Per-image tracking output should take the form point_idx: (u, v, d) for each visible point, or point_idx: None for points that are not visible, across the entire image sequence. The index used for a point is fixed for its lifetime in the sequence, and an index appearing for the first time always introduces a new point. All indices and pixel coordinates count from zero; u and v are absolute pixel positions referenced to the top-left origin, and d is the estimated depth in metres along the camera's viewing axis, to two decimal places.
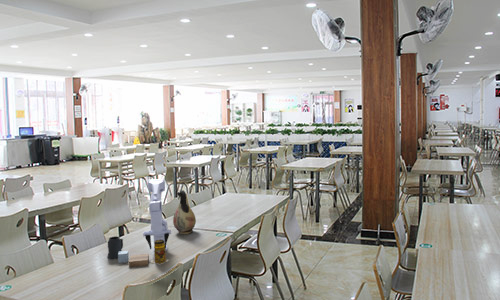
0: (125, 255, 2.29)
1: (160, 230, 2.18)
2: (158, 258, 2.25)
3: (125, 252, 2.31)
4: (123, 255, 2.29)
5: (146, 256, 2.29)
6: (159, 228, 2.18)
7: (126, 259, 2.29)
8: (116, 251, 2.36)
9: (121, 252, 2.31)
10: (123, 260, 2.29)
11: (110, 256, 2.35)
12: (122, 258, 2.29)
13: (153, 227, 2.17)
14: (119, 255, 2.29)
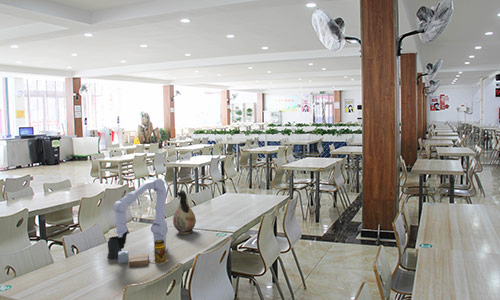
0: (125, 255, 2.29)
1: (117, 229, 2.28)
2: (158, 258, 2.25)
3: (125, 252, 2.31)
4: (123, 255, 2.29)
5: (146, 256, 2.29)
6: (116, 227, 2.28)
7: (126, 259, 2.29)
8: (116, 251, 2.36)
9: (121, 252, 2.31)
10: (123, 260, 2.29)
11: (110, 256, 2.35)
12: (122, 258, 2.29)
13: None
14: (119, 255, 2.29)
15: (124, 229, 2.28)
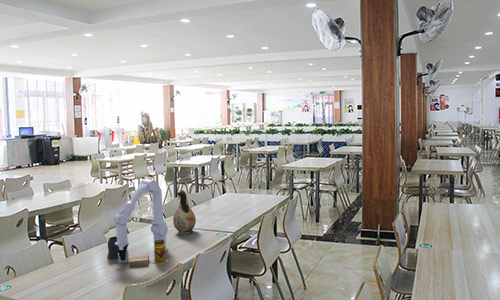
0: None
1: (118, 242, 2.28)
2: (158, 258, 2.25)
3: None
4: None
5: (146, 256, 2.29)
6: (117, 240, 2.29)
7: (126, 259, 2.29)
8: (116, 251, 2.36)
9: None
10: (123, 260, 2.29)
11: (110, 256, 2.35)
12: None
13: None
14: None
15: (125, 241, 2.29)
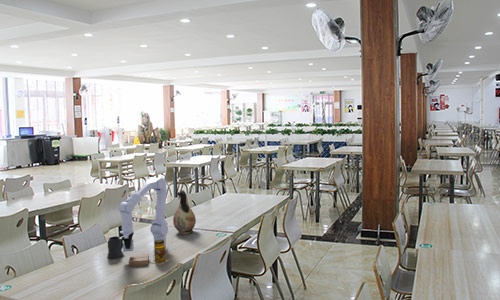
0: None
1: (123, 230, 2.26)
2: (158, 258, 2.25)
3: None
4: None
5: (146, 256, 2.29)
6: (122, 228, 2.26)
7: (131, 248, 2.27)
8: (116, 251, 2.36)
9: None
10: (128, 249, 2.27)
11: (110, 256, 2.35)
12: None
13: None
14: (124, 244, 2.26)
15: (130, 230, 2.27)
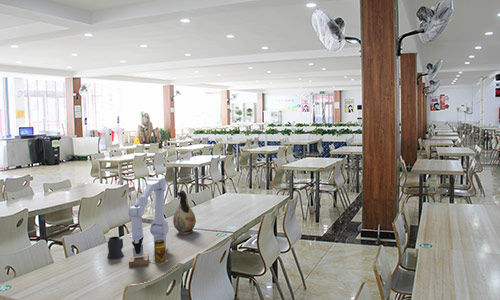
0: None
1: (133, 235, 2.24)
2: (158, 258, 2.25)
3: None
4: None
5: (146, 256, 2.29)
6: (132, 233, 2.24)
7: (141, 253, 2.25)
8: (116, 251, 2.36)
9: None
10: (138, 254, 2.24)
11: (110, 256, 2.35)
12: None
13: None
14: (134, 249, 2.24)
15: (140, 235, 2.24)
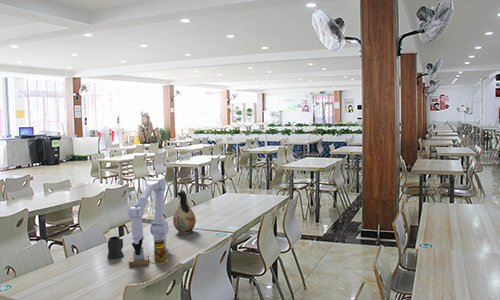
0: (140, 252, 2.25)
1: (133, 236, 2.24)
2: (158, 258, 2.25)
3: None
4: None
5: (146, 256, 2.29)
6: (132, 233, 2.24)
7: (141, 256, 2.25)
8: (116, 251, 2.36)
9: None
10: (138, 257, 2.25)
11: (110, 256, 2.35)
12: (137, 255, 2.24)
13: None
14: (134, 252, 2.24)
15: (140, 235, 2.24)
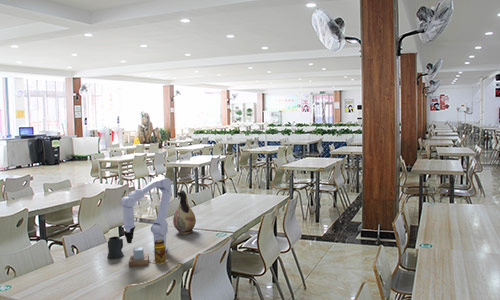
0: (140, 252, 2.25)
1: (125, 225, 2.30)
2: (158, 258, 2.25)
3: (140, 249, 2.26)
4: (138, 252, 2.24)
5: (146, 256, 2.29)
6: (124, 222, 2.30)
7: (141, 256, 2.25)
8: (116, 251, 2.36)
9: (136, 249, 2.27)
10: (138, 257, 2.25)
11: (110, 256, 2.35)
12: (137, 255, 2.24)
13: None
14: (134, 252, 2.24)
15: (132, 224, 2.31)
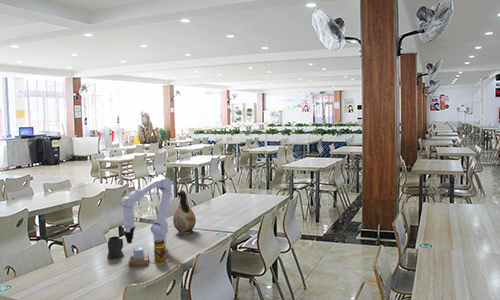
0: (140, 252, 2.25)
1: (125, 225, 2.30)
2: (158, 258, 2.25)
3: (140, 249, 2.26)
4: (138, 252, 2.24)
5: (146, 256, 2.29)
6: (124, 222, 2.30)
7: (141, 256, 2.25)
8: (116, 251, 2.36)
9: (136, 249, 2.27)
10: (138, 257, 2.25)
11: (110, 256, 2.35)
12: (137, 255, 2.24)
13: None
14: (134, 252, 2.24)
15: (132, 224, 2.31)
